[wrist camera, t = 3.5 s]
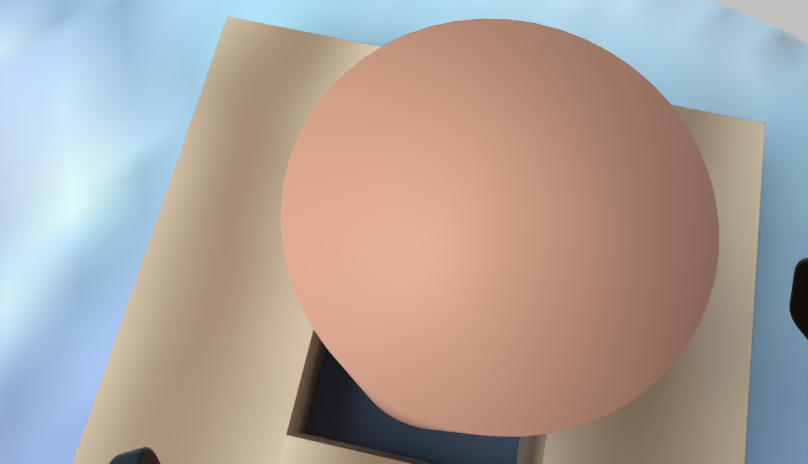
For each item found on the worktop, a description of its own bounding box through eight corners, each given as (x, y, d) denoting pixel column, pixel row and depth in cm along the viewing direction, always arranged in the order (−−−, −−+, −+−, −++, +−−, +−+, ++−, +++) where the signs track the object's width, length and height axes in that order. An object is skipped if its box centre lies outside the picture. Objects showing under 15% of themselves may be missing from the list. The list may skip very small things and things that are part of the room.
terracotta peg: (514, 296, 18) (734, 61, 6) (489, 444, 17) (699, 485, 5) (374, 265, 18) (340, -15, 7) (339, 410, 17) (224, 377, 5)
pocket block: (708, 169, 19) (764, 123, 16) (662, 711, 15) (725, 779, 12) (251, 76, 20) (227, 16, 17) (91, 572, 16) (22, 605, 13)
